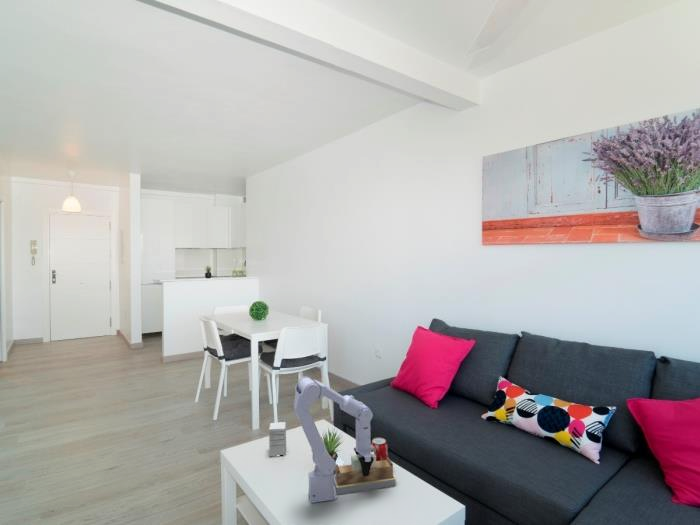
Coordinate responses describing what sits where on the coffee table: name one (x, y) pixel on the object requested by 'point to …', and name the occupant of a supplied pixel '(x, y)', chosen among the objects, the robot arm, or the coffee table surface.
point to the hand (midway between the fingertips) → (363, 471)
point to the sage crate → (356, 462)
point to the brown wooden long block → (350, 476)
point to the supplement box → (277, 438)
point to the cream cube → (374, 460)
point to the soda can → (380, 449)
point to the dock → (363, 485)
